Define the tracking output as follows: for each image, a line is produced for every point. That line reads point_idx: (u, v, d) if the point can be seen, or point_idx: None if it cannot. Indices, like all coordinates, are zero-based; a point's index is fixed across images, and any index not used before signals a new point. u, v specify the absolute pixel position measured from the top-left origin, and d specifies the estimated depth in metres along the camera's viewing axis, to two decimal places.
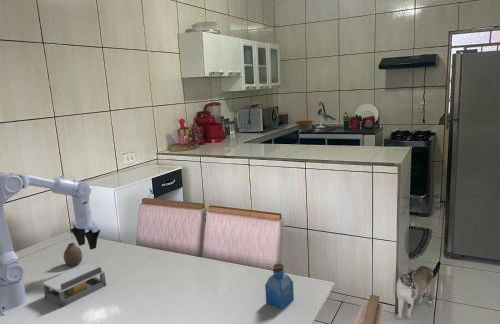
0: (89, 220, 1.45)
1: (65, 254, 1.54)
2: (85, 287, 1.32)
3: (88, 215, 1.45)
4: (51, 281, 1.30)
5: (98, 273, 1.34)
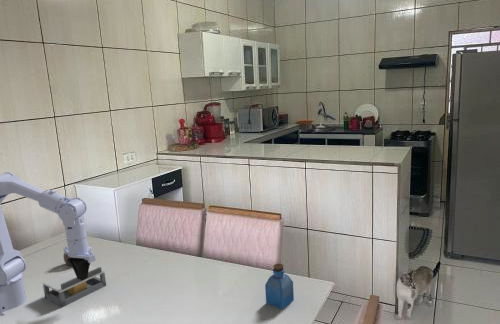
0: (84, 247, 1.20)
1: (65, 254, 1.54)
2: (85, 287, 1.32)
3: (83, 241, 1.19)
4: (51, 281, 1.30)
5: (98, 273, 1.34)
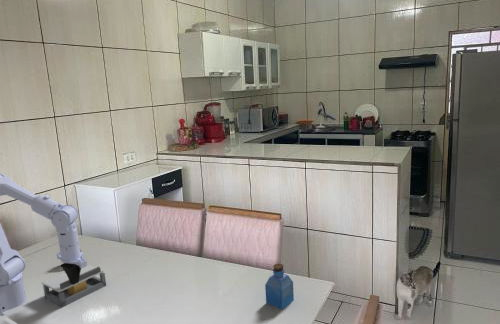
0: (76, 252, 1.23)
1: None
2: (85, 287, 1.32)
3: (75, 247, 1.23)
4: (50, 280, 1.30)
5: (97, 273, 1.34)
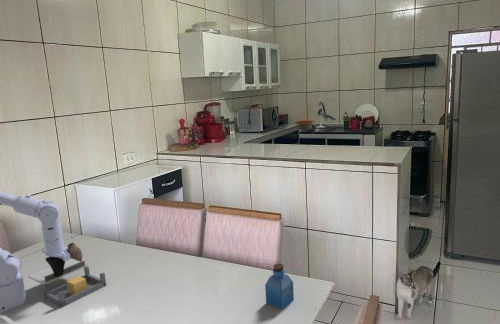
0: (60, 246, 1.29)
1: None
2: (85, 287, 1.32)
3: (59, 241, 1.29)
4: (36, 274, 1.36)
5: (81, 266, 1.40)
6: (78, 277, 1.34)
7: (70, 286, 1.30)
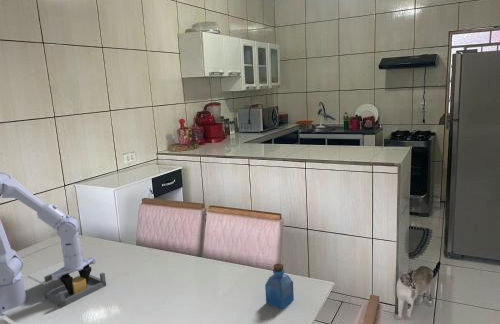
0: (66, 264, 1.28)
1: None
2: (85, 287, 1.32)
3: (65, 259, 1.28)
4: (36, 274, 1.36)
5: None
6: (78, 277, 1.34)
7: None
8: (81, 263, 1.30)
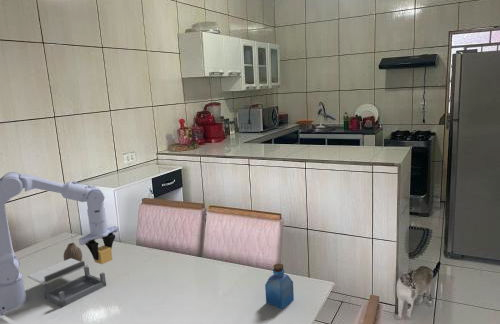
0: (92, 230, 1.36)
1: (65, 254, 1.54)
2: (110, 255, 1.40)
3: (91, 225, 1.35)
4: (36, 274, 1.36)
5: (81, 266, 1.40)
6: (103, 246, 1.41)
7: None
8: (106, 230, 1.38)
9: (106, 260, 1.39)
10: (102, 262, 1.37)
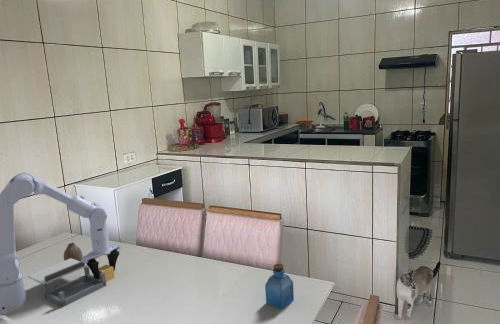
0: (94, 249, 1.37)
1: (65, 254, 1.54)
2: (113, 275, 1.41)
3: (94, 244, 1.37)
4: (36, 274, 1.36)
5: (81, 266, 1.40)
6: (106, 265, 1.43)
7: (99, 274, 1.39)
8: (108, 248, 1.39)
9: (108, 279, 1.40)
10: None
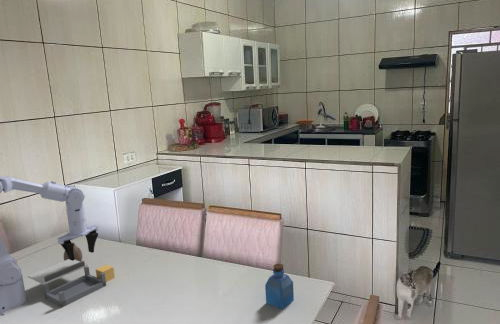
0: (71, 230, 1.36)
1: (65, 254, 1.54)
2: (113, 275, 1.41)
3: (70, 224, 1.36)
4: (36, 274, 1.36)
5: (81, 266, 1.40)
6: (106, 265, 1.43)
7: (99, 274, 1.39)
8: (85, 229, 1.39)
9: (108, 279, 1.40)
10: None
